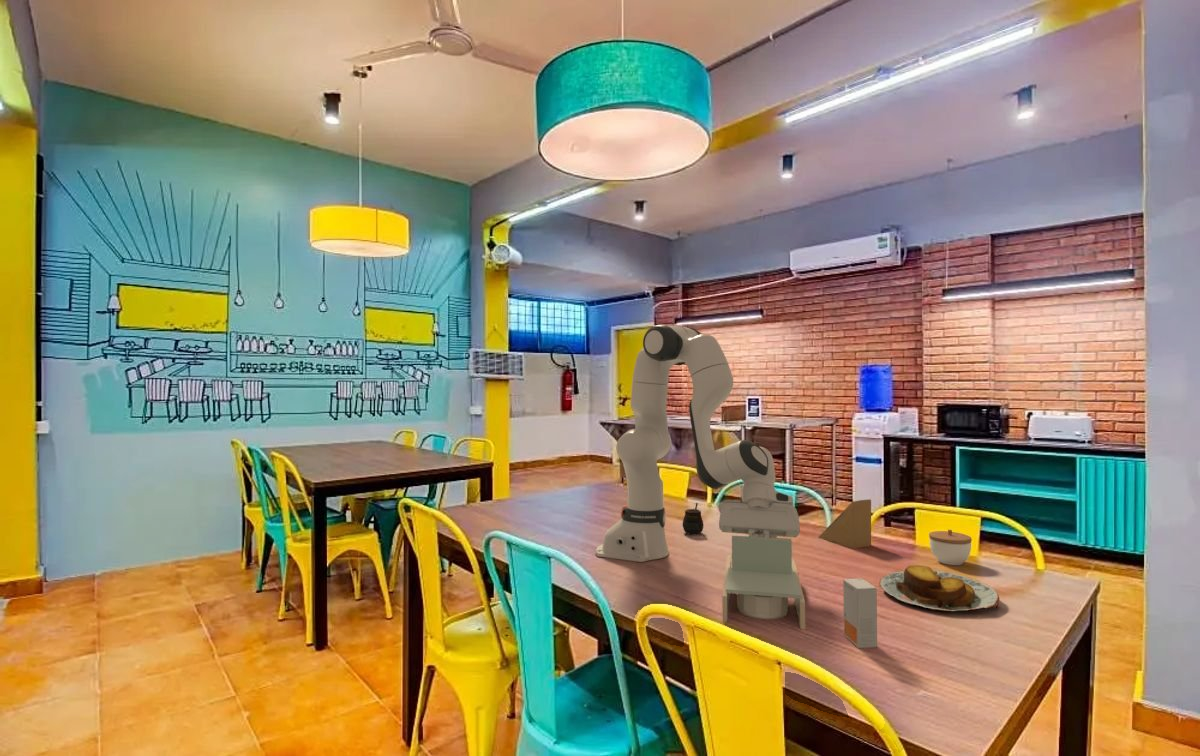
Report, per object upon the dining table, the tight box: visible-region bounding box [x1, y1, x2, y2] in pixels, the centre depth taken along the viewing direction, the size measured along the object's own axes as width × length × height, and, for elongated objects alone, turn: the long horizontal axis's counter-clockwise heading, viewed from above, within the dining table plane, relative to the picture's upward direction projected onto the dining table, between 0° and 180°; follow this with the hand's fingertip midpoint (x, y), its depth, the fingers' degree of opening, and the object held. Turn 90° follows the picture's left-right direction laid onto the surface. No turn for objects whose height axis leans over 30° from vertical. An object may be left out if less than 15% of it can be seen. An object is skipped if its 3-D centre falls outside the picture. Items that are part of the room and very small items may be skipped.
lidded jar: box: [928, 529, 973, 566], centre depth 175 cm, size 11×11×9 cm
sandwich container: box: [817, 498, 872, 549], centre depth 199 cm, size 9×15×15 cm, turn 25°
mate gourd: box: [682, 502, 705, 536], centre depth 210 cm, size 7×8×10 cm
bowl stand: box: [721, 554, 806, 630], centre depth 146 cm, size 17×32×6 cm, turn 166°
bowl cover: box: [726, 535, 801, 599], centre depth 140 cm, size 16×16×9 cm
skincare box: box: [842, 578, 878, 649], centre depth 122 cm, size 6×4×12 cm
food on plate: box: [878, 565, 1000, 618], centre depth 148 cm, size 25×25×7 cm
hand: (758, 548), depth 151 cm, fingers closed
